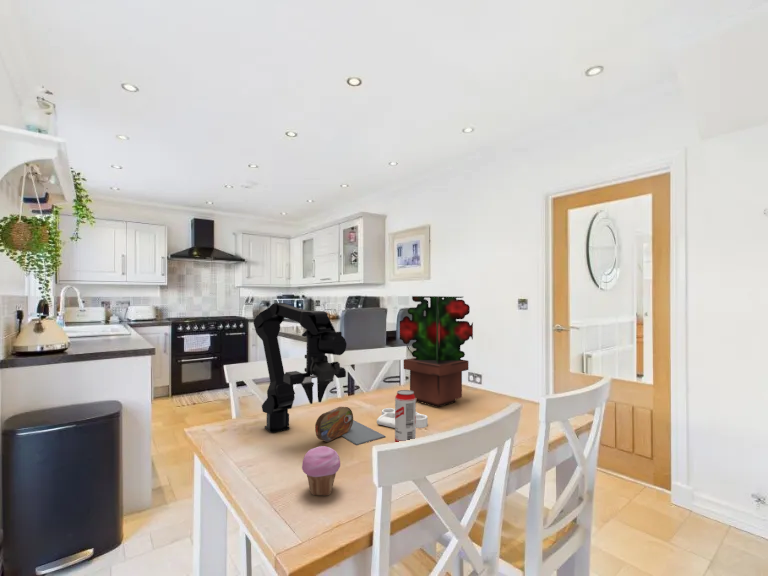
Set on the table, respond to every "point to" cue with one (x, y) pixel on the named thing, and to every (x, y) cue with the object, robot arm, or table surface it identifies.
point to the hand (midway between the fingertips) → (315, 402)
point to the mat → (361, 434)
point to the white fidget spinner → (389, 418)
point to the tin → (334, 423)
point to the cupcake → (321, 469)
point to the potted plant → (436, 348)
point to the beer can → (405, 415)
